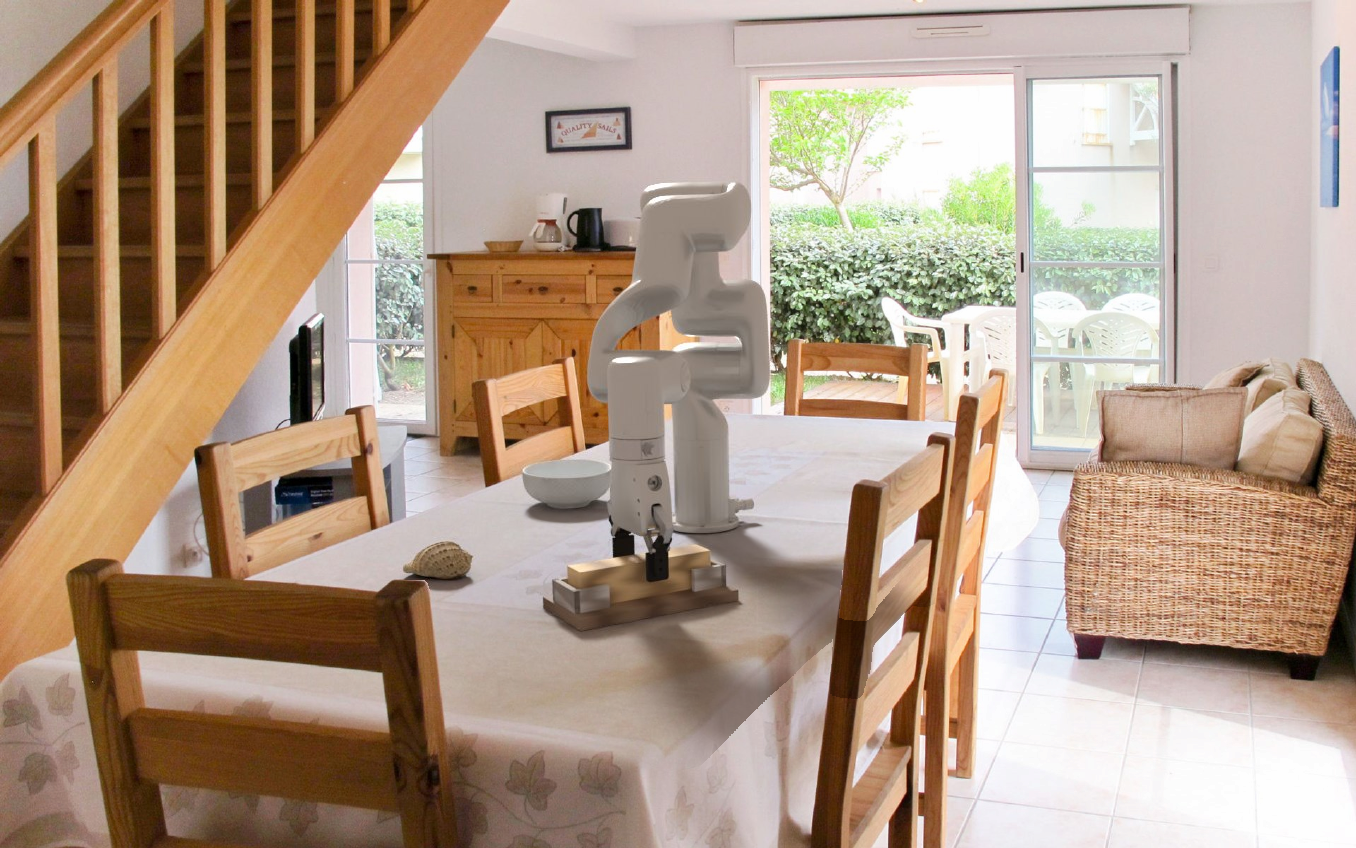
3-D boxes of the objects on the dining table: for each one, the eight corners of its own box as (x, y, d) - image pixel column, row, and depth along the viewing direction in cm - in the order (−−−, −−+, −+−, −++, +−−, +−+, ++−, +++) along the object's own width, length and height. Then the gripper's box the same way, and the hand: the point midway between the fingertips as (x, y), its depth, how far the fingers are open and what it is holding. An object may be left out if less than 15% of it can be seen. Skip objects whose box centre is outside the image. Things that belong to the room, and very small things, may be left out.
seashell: (420, 604, 183) (480, 570, 185) (400, 570, 181) (461, 536, 183) (416, 590, 190) (474, 557, 192) (397, 557, 189) (456, 524, 191)
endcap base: (694, 580, 182) (693, 550, 181) (738, 600, 172) (738, 568, 171) (543, 607, 170) (541, 575, 170) (580, 631, 160) (579, 597, 159)
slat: (696, 578, 178) (695, 544, 177) (710, 585, 174) (710, 550, 173) (568, 601, 168) (567, 565, 167) (581, 609, 164) (580, 572, 164)
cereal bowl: (504, 506, 233) (503, 469, 232) (568, 491, 246) (566, 455, 245) (569, 518, 222) (567, 480, 221) (631, 502, 235) (630, 465, 234)
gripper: (693, 455, 162) (696, 582, 165) (632, 437, 177) (635, 554, 180) (642, 461, 159) (646, 592, 161) (584, 442, 173) (588, 562, 176)
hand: (640, 572), depth 170 cm, fingers open, 9 cm apart
